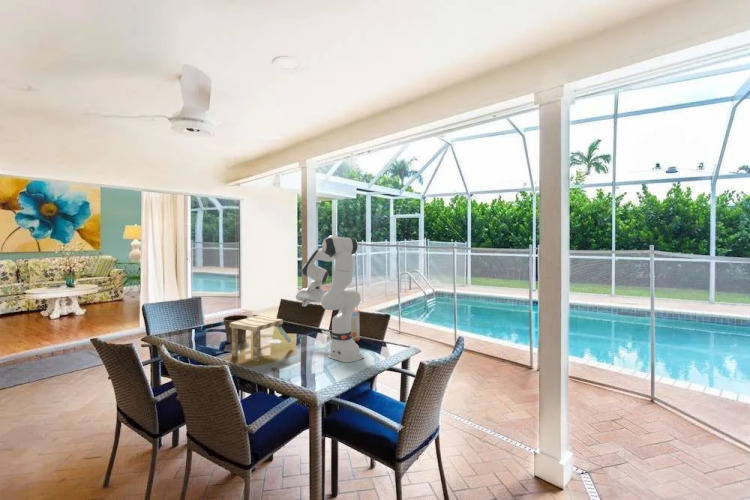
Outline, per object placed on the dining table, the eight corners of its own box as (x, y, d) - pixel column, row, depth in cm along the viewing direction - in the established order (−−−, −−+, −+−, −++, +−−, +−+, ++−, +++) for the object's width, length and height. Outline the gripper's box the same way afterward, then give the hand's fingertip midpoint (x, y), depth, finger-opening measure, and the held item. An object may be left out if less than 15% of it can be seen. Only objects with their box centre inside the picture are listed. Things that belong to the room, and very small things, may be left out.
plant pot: (240, 344, 250) (239, 320, 250) (218, 343, 254) (218, 319, 253) (252, 338, 266) (252, 315, 266) (232, 336, 269) (231, 314, 269)
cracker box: (359, 339, 263) (359, 309, 262) (358, 341, 257) (358, 311, 256) (340, 338, 264) (339, 309, 263) (338, 341, 258) (338, 310, 257)
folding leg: (289, 340, 244) (276, 323, 234) (292, 340, 243) (279, 323, 232) (287, 343, 242) (274, 326, 232) (290, 343, 241) (277, 326, 231)
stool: (258, 346, 245) (257, 315, 244) (283, 352, 234) (282, 319, 233) (230, 356, 226) (229, 322, 225) (256, 362, 215) (255, 327, 214)
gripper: (299, 285, 265) (289, 301, 257) (322, 287, 255) (313, 304, 247) (303, 291, 269) (294, 306, 261) (326, 293, 259) (317, 310, 251)
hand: (303, 305), depth 254 cm, fingers closed
